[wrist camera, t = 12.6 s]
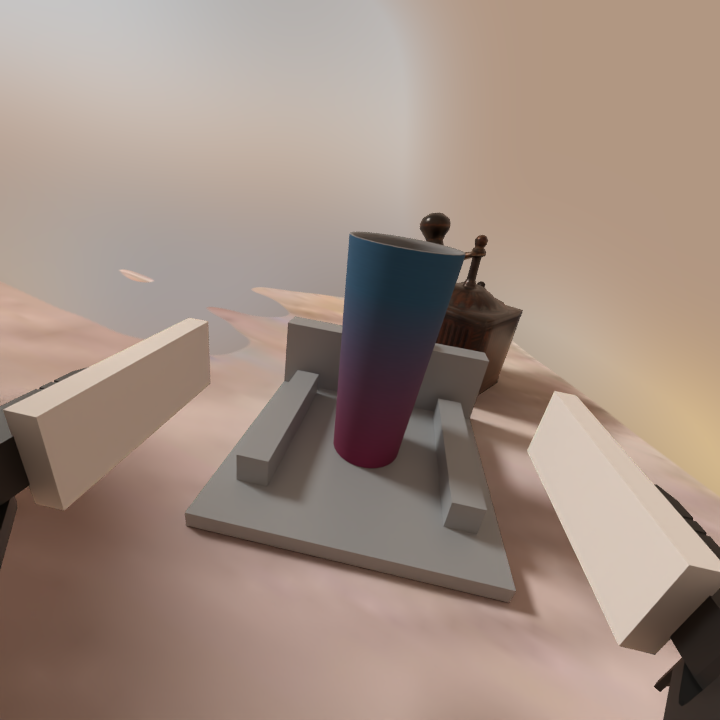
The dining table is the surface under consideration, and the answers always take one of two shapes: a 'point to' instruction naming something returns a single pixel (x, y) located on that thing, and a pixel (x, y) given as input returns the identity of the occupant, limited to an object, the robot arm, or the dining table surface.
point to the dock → (365, 477)
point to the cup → (388, 339)
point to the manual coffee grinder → (474, 308)
